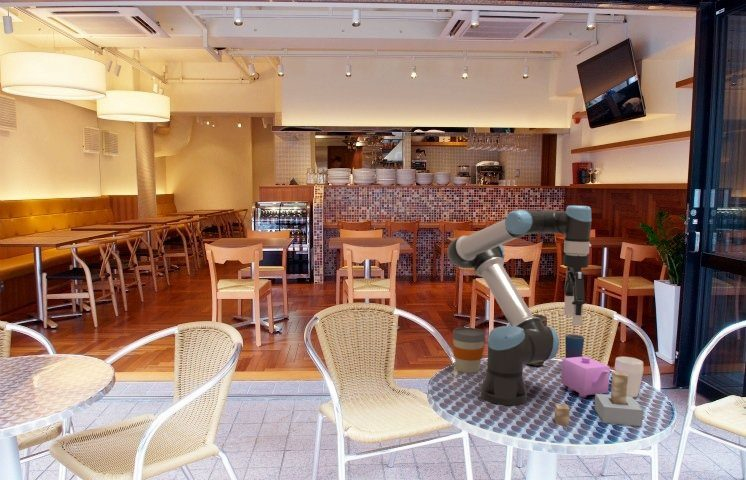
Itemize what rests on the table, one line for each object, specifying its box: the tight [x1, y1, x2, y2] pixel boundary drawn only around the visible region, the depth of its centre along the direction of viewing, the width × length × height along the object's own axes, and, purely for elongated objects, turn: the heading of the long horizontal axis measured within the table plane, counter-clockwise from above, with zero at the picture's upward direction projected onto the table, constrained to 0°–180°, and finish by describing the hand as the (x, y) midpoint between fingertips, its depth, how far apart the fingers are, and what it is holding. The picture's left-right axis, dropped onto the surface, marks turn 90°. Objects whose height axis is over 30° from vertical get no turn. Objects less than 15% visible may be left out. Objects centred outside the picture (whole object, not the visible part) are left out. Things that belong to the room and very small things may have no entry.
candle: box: [529, 314, 548, 367], centre depth 217 cm, size 8×7×20 cm
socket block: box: [594, 393, 644, 427], centre depth 168 cm, size 11×11×5 cm
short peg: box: [554, 403, 571, 426], centre depth 163 cm, size 4×4×5 cm
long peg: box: [610, 370, 628, 405], centre depth 167 cm, size 4×4×14 cm
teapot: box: [560, 355, 611, 399], centre depth 187 cm, size 20×10×12 cm, turn 19°
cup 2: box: [614, 356, 644, 398], centre depth 187 cm, size 9×9×12 cm
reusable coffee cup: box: [451, 326, 486, 374], centre depth 210 cm, size 13×13×15 cm
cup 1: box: [564, 333, 585, 358], centre depth 207 cm, size 7×7×15 cm
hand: (572, 320), depth 173 cm, fingers open, 13 cm apart
